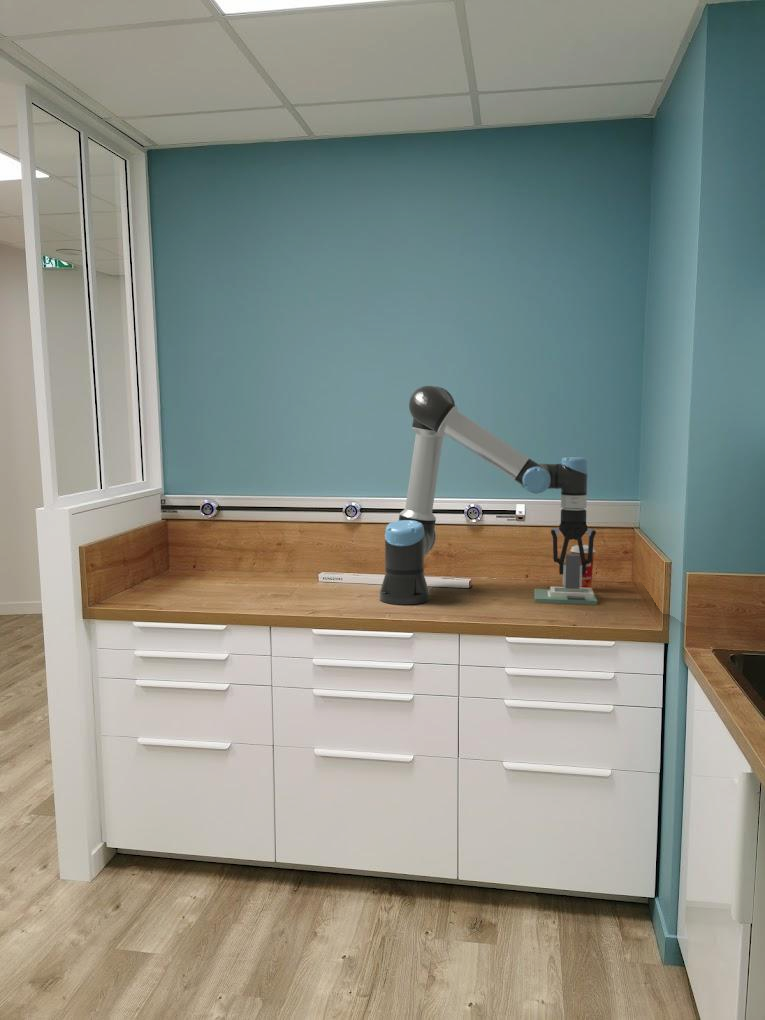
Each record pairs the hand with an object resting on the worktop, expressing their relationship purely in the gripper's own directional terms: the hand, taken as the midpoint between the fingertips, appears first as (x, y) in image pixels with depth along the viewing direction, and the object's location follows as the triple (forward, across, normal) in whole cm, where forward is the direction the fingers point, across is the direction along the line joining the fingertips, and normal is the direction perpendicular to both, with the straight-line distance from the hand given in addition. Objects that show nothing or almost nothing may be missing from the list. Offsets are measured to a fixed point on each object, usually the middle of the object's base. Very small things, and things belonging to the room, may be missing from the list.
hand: (572, 585), depth 248 cm
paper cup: (+4, +4, +13) cm, 14 cm away
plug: (+1, 0, 0) cm, 1 cm away
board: (+4, -2, 0) cm, 5 cm away
